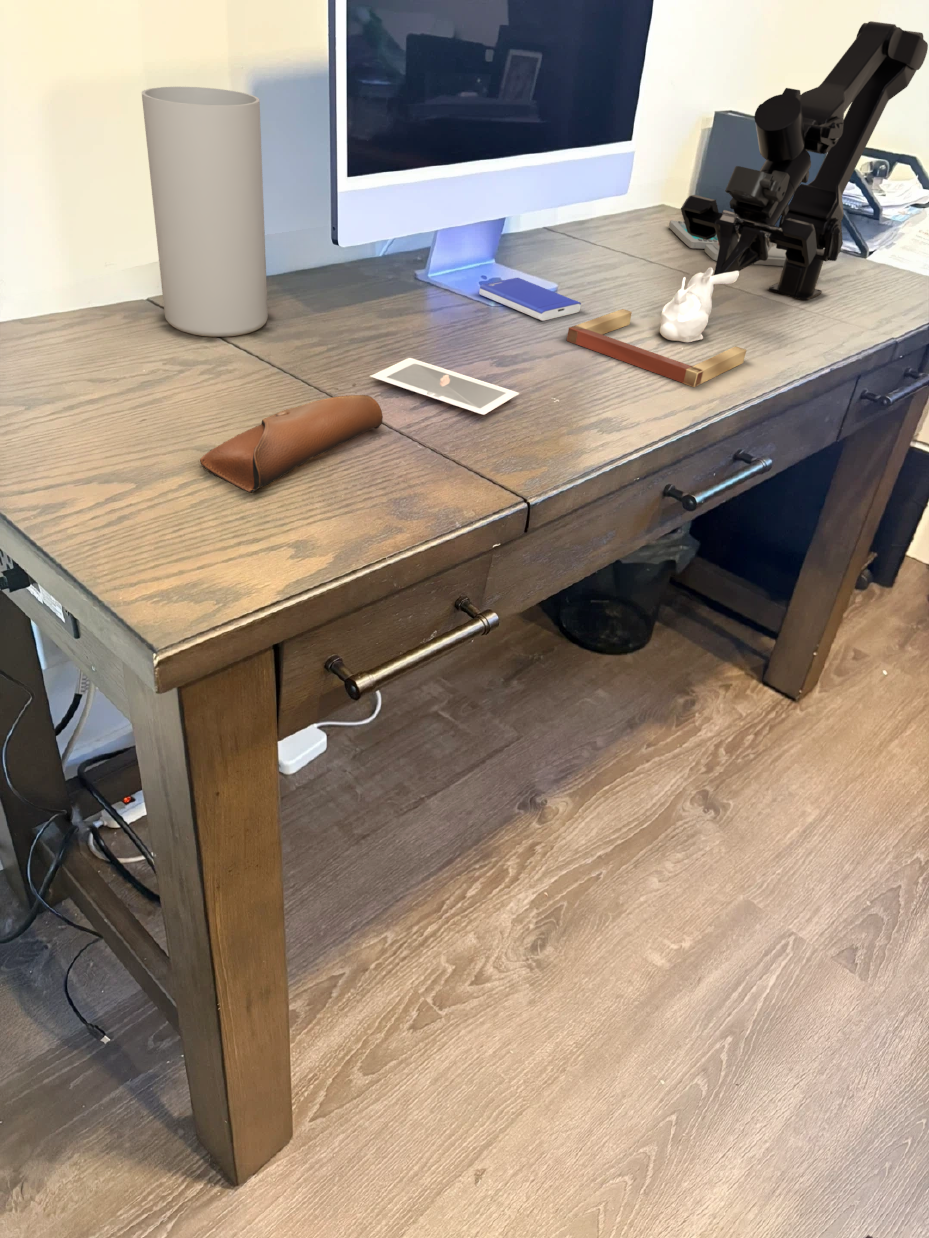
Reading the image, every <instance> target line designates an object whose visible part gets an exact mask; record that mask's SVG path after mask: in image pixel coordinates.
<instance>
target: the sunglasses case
mask: <svg viewBox="0 0 929 1238" xmlns="http://www.w3.org/2000/svg"><path fill="white" fill-rule="evenodd" d="M383 416H384V415H383V411H382V408H381V406H380V405H379V403H378V401H376V399H374V398H373V397H372V396H370V395H366V394H349V395H338V396H332V397H326V398H323V399H317V400H314V401H311V402H308V403H304V404H302V405H299V406H294V407H289V408H287V409H283V410H281V411H279V412H277V413H275V414H272V415H270V416H266V417H264V418H262V419H261V423H260V424H259V425H256V426H254V427H252V428H249V429H247V430H245V431H243V432H241V433H238V434H237V435H235V436H234V437H231V438H230V439H228V440H226V441H223V442H222V443H221V444H219V445H217V446H215V447H214V448H212V449H211V450H209V451H208V452H207V453H205V454H204V455H203V456H202V457H201V458H199V463H200V465H201V466H202V467H203V468H205V469H206V470H208V471H209V472H211V473H212V474H214V476H217V477H218V478H220V479H222V480H224V481H225V482H227V483H229V484H231V485H233V486H235V487H237V488H239V489H242V490H243V491H245V492H247V493H252V492H253V493H254V492H257V490H258V489H259V488H261V487H266V486H268V485H269V484H271V483H273V482H274V481H277V480H278V479H279V478H281V477H283V476H284V475H286V474H288V473H290V472H291V471H293V470H294V469H295V468H297V467H300V466H301V465H303V464H305V463H306V462H308V461H309V460H310V459H312V458H315V457H317V456H319V455H321V454H324V453H326V452H328V451H330V450H332V449H333V448H336V447H337V446H339V445H341V444H344V443H346V442H348V441H351V440H353V439H354V438H356V437H358V436H360V435H362V434H364V433H367V432H368V431H371V430H373V429H378V428H380V427H381V426H382V424H383V419H384V417H383Z"/></svg>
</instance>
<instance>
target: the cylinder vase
mask: <svg viewBox="0 0 929 1238" xmlns="http://www.w3.org/2000/svg"><path fill="white" fill-rule="evenodd" d="M141 103H142V111H143V112H142V113H143V120H144V128H145V129H144V130H145V139H146V148H147V159H148V167H149V168H148V169H149V177H150V179H149V180H150V187H151V196H152V207H153V216H154V225H155V234H156V247H157V251H158V252H157V255H158V262H159V263H158V264H159V265H158V266H159V273H160V283H161V292H162V293H161V294H162V301H163V303H162V304H163V312H164V318H165V320H166V321H167V323H168V324H169V325H170V326H171V327H173V328H174V329H176V330H178V331H181V332H183V333H186V334H190V335H194V336H201V337H212V338H226V337H227V338H228V337H237V336H243V335H247V334H250V333H254V332H255V331H258V330H260V329H261V328H262V327H263V326H265V324H266V323H267V321H268V317H269V313H268V288H267V287H268V286H267V261H266V260H267V259H266V258H267V257H266V235H265V231H266V230H265V209H264V208H265V207H264V185H263V183H264V181H263V179H264V178H263V158H262V157H263V153H262V134H261V133H262V131H261V127H262V126H261V106H260V105H261V104H260V98H259V97H258V96H255V95H253V94H249V93H245V92H241V91H236V90H229V89H223V88H213V87H202V86H201V87H200V86H160V87H150V88H146V89H143V90H142V91H141Z"/></svg>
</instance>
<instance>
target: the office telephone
mask: <svg viewBox="0 0 929 1238" xmlns="http://www.w3.org/2000/svg"><path fill="white" fill-rule="evenodd" d="M668 228H669V229H670V230H671V231H672V232H673V233H674V234H675V236H677V237H678V238H679V239H680V240H681V241H682V242H683V243H684V244H685V245H686V246H687V247H688V248H690V249H701V250H703V249H704V252H705V254H707V255H708V257H709V258H711V260H713V261H716V262H717V258H718V253H719V247H720V246H719V242H718V238H717V234H716V236H715V237H713V238H711V239H708V240H705V239H702V238H698V237H694V236H691V235H690V234H689V233H688V232H687V229H686V226H685V222H684V220H673V219H672V220H669V223H668ZM739 239H740V238H739ZM738 242H739V240H738ZM776 245H777V244H775V245H774V246H773V247H771V249H770V250H769V252H768V259H767V260H766V261H763V260H759V261H757V262H755V263H753V264H752V265H762V266H763V265H765V266H778V267H779V266H780V267H783V266H784V262H785V259H786V255H785V253H786V251H787V250H783V249H777V248H776Z"/></svg>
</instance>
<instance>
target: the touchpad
mask: <svg viewBox="0 0 929 1238" xmlns="http://www.w3.org/2000/svg"><path fill="white" fill-rule="evenodd" d="M369 377H370V378H373V379H377V380H379V381H382V382H385V383H388V384H391V385H394V386H396V387H400V388H403V389H406V390H408V391H411V392H415V393H417V394H420V395H424V396H426V397H429V398H432V399H435V400H438V401H441V402H444V403H447V404H450V405H453V406H456V407H459V408H462V409H465V410H467V411H471V412H474V413H476V414H479V415H483V416H485V415H486V414H488V413H489V412H491V411H493V410H494V409H496V408H498V407H500V406H502V405H503V404H504V403H506V402H508V401H510V400H511V399H513V398H515V397H516V396H518V395H520V392H518V391H515V390H513V389H512V390H511V389H509V388H505V387H503V386H500V385H497V384H493V383H490V382H487V381H483V380H481V379H477V378H474V377H471V376H469V375H465V374H462V373H459V372H456V371H453V370H449V369H447V368H443V367H441V366H437V365H434V364H431V363H427V362H424V361H421V360H419V359H416V358H412V357H407V358H406V359H403V360H401V361H399V362H397V363H395V364H393V365H390V366H389V367H386V368H384V369H381V370H380V371H378V372H375V373H374V374H371V375H369Z"/></svg>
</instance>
